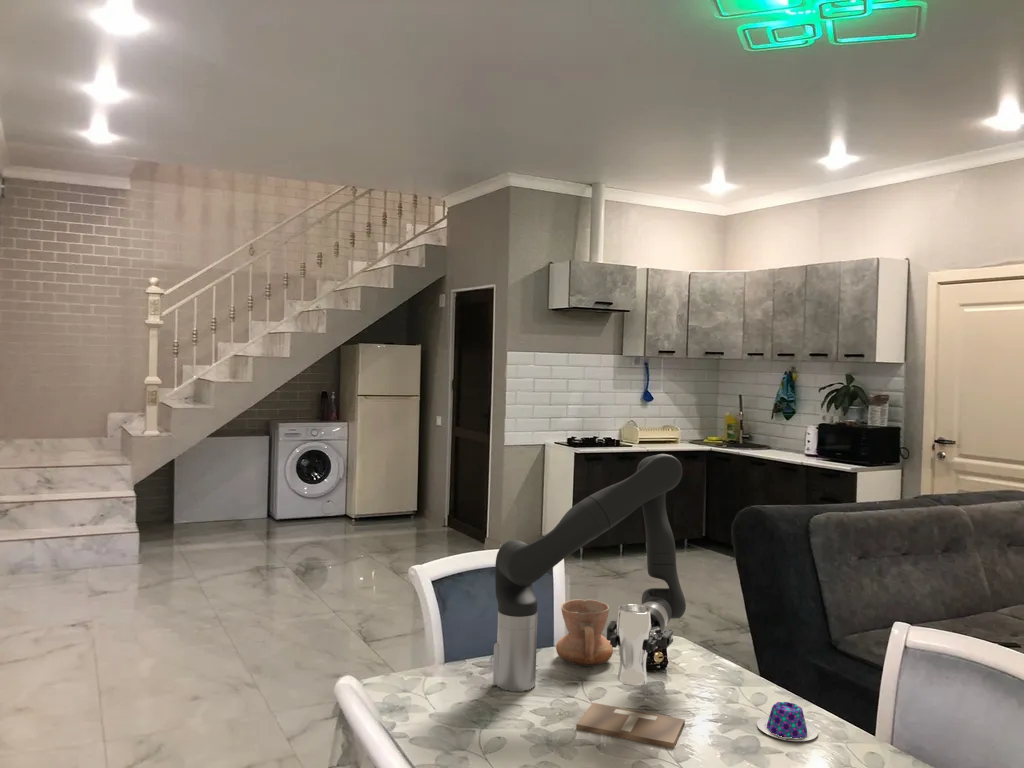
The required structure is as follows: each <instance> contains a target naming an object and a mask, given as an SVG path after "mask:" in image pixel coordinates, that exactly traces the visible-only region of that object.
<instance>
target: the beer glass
mask: <svg viewBox="0 0 1024 768" xmlns="http://www.w3.org/2000/svg"><path fill="white" fill-rule="evenodd" d="M617 609H618V612H617V620H616V623H617V640H618V646H617V647H618V652H619V653H618V654H619V670H618V674H617V680H618V682H619V683H621V684H622V685H625V686H630V687H631V686H632V687H640V686H644V685H646V684H647V683H648V673H647V658H648V653H646V643H647V641H648V640H650V636H651V617H650V609H649V608H648V607H646V606H643V605H642V604H636V603H635V604H634V603H627V604H621V605H619V606H618V608H617Z"/></svg>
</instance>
